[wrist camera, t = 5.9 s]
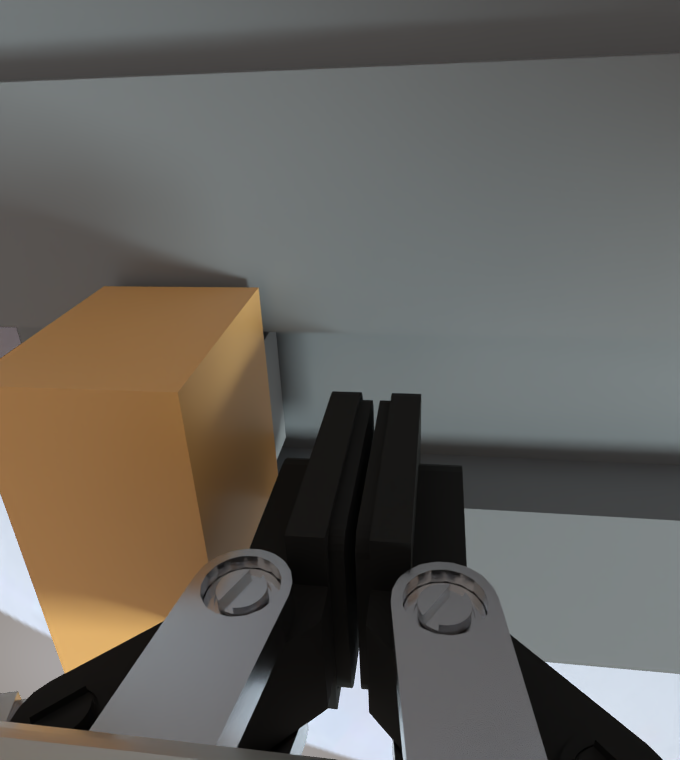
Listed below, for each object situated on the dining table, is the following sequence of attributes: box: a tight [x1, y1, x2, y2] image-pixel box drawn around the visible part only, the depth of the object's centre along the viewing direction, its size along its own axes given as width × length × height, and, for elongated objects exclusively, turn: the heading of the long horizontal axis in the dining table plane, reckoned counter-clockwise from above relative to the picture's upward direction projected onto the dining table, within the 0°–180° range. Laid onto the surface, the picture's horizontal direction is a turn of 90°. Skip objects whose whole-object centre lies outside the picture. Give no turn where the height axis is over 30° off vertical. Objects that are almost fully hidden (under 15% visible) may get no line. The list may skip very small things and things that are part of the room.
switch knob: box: [0, 286, 286, 673], centre depth 12 cm, size 3×6×6 cm, turn 2°
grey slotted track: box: [0, 0, 680, 674], centre depth 14 cm, size 24×17×4 cm
